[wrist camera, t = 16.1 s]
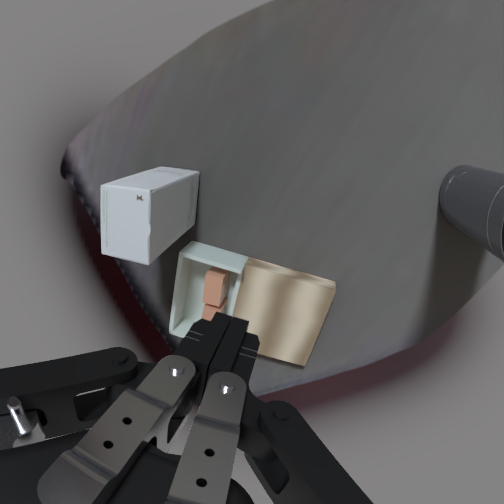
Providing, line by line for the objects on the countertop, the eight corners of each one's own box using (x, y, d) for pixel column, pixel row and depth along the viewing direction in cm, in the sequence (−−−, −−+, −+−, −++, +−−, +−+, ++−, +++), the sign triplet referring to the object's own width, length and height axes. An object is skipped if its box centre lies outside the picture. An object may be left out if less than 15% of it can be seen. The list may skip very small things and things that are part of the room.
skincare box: (161, 165, 44) (98, 180, 30) (203, 171, 44) (152, 187, 29) (157, 220, 47) (98, 254, 33) (197, 228, 47) (148, 267, 32)
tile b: (220, 311, 45) (203, 306, 45) (214, 336, 46) (198, 330, 47) (228, 297, 49) (212, 292, 49) (221, 320, 51) (207, 315, 51)
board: (334, 281, 45) (336, 290, 43) (305, 354, 51) (304, 366, 48) (248, 256, 47) (244, 264, 44) (229, 333, 52) (225, 343, 49)
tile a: (223, 278, 43) (205, 274, 43) (219, 306, 45) (202, 302, 45) (231, 265, 47) (214, 262, 47) (227, 292, 49) (211, 288, 49)
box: (248, 256, 47) (241, 270, 42) (229, 333, 52) (222, 351, 47) (192, 240, 47) (179, 251, 43) (180, 317, 52) (168, 332, 48)
